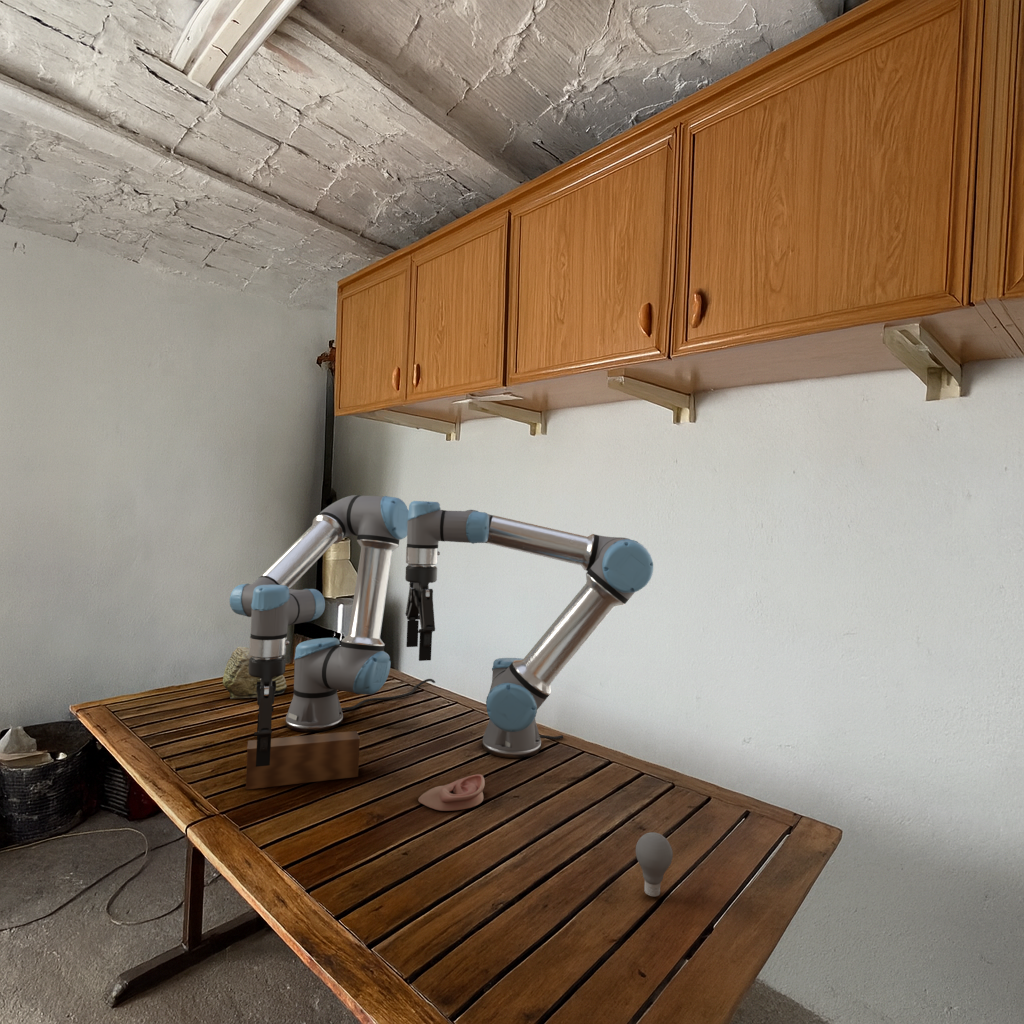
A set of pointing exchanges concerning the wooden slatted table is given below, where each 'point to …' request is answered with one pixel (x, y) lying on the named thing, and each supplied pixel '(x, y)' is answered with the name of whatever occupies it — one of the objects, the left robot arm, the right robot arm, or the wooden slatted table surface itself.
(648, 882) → the light bulb
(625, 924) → the wooden slatted table surface
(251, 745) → the bar
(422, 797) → the anatomical model
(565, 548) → the right robot arm
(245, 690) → the fossil
